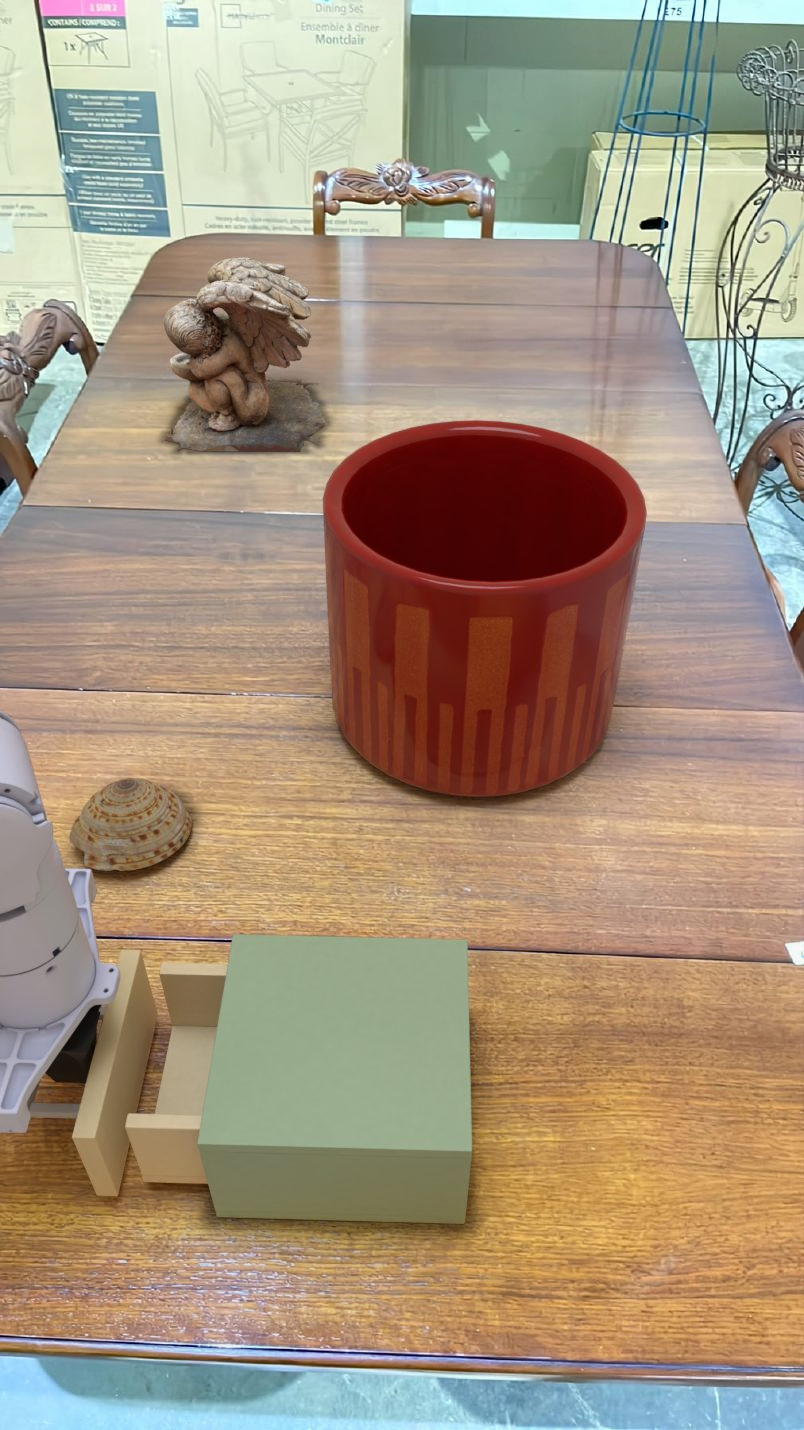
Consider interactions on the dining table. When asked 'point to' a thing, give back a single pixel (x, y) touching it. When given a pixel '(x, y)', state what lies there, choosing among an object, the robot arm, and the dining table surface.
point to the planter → (478, 602)
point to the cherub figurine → (242, 361)
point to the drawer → (121, 1069)
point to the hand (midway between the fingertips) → (74, 1071)
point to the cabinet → (341, 1081)
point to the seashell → (130, 825)
